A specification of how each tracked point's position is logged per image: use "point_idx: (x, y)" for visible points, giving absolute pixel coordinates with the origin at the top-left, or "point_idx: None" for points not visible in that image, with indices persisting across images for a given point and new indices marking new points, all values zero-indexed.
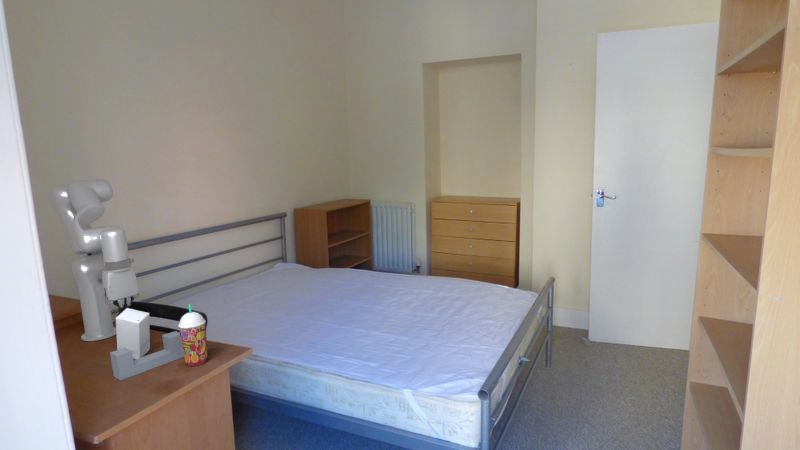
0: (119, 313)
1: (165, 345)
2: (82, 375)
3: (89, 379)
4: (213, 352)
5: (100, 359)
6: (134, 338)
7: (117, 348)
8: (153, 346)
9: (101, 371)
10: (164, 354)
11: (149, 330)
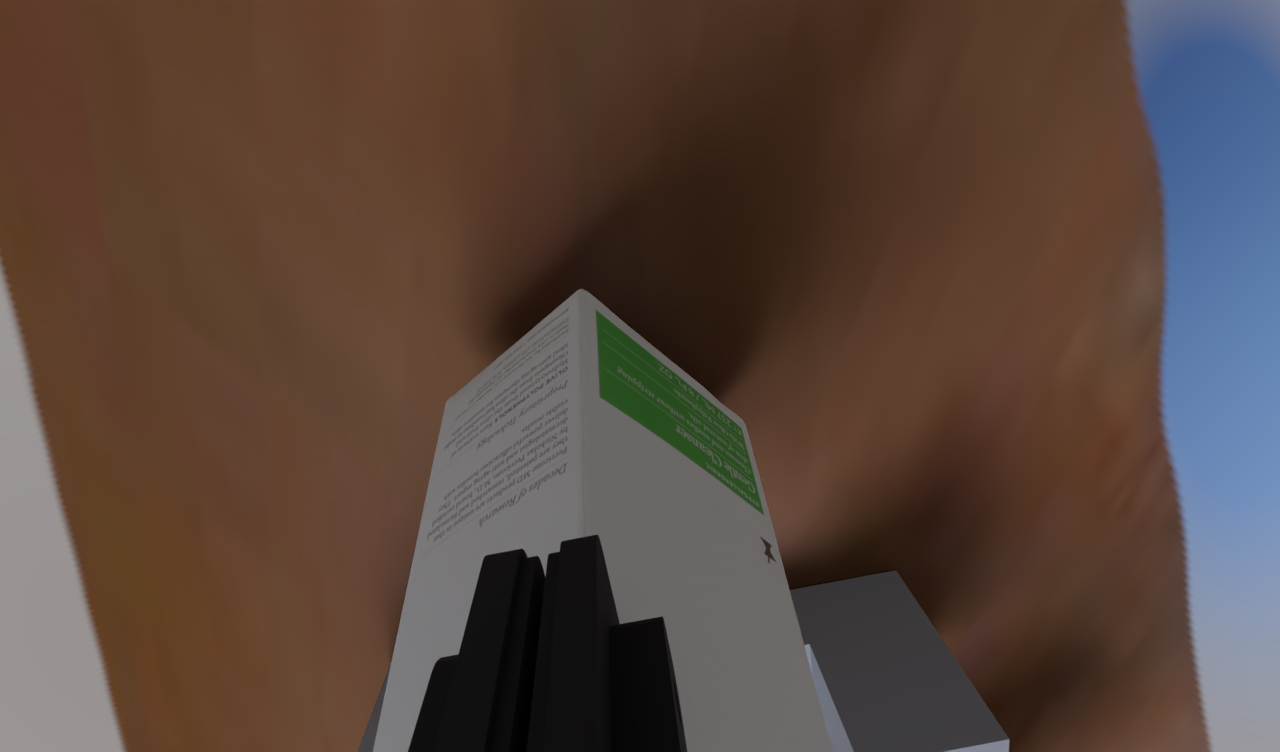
0: (428, 710)
1: (827, 711)
2: (151, 477)
3: (216, 595)
4: (1056, 724)
5: (299, 181)
6: None
7: (434, 470)
8: (821, 237)
9: (306, 506)
10: None
11: (803, 658)
